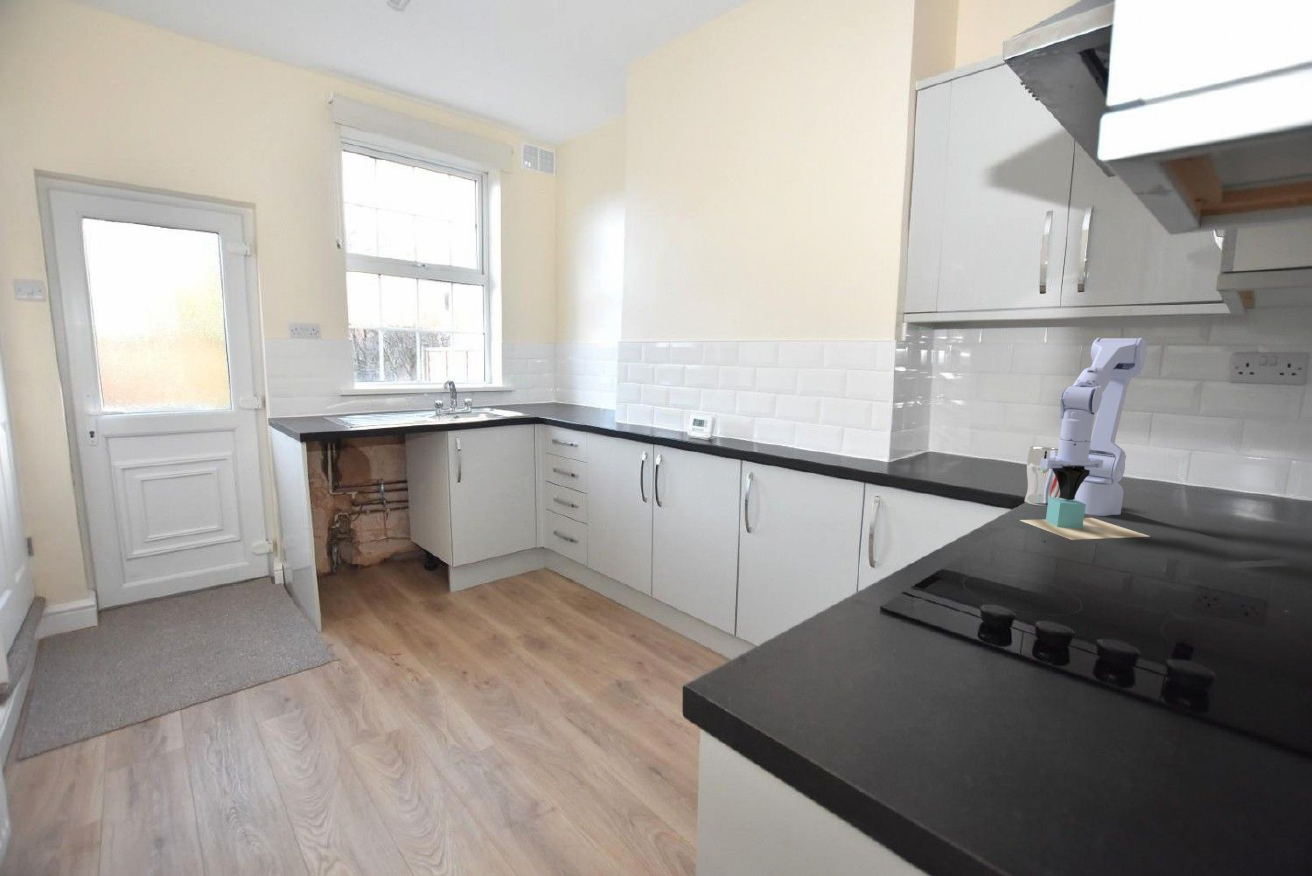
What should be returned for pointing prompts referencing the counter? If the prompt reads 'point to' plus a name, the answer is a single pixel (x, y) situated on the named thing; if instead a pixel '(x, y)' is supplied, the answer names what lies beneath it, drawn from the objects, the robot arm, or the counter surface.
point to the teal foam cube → (1065, 512)
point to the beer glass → (1039, 476)
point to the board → (1087, 530)
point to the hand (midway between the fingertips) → (1066, 498)
